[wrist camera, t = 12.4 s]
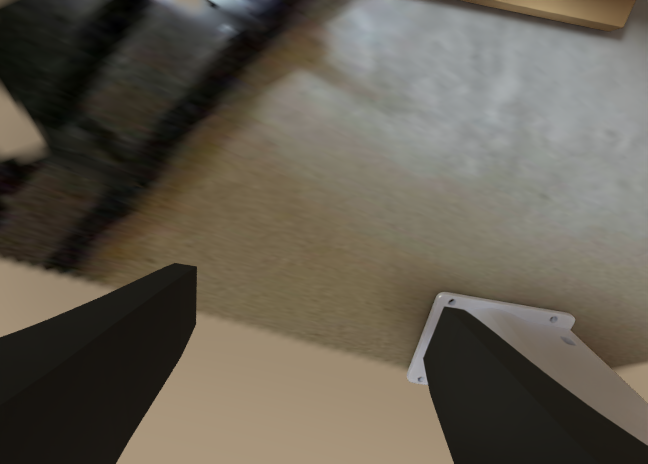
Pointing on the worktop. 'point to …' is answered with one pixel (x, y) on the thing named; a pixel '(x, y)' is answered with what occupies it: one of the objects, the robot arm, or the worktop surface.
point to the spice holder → (570, 11)
